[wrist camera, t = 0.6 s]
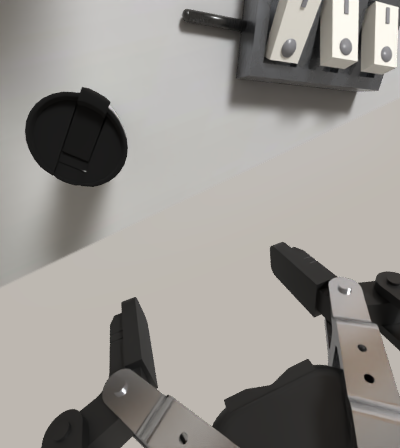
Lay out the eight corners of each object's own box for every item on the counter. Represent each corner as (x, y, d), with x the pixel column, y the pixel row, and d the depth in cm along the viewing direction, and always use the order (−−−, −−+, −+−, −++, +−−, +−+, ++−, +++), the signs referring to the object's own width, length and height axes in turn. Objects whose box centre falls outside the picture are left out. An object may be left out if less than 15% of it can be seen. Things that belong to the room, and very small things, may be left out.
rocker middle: (320, 1, 32) (333, -12, 30) (345, 8, 33) (359, -5, 31) (320, 65, 33) (333, 56, 31) (344, 69, 34) (358, 60, 32)
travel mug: (128, 112, 33) (145, 118, 16) (111, 156, 35) (109, 204, 18) (80, 85, 30) (38, 60, 13) (64, 135, 32) (8, 169, 15)
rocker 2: (361, 12, 34) (377, 0, 32) (383, 17, 36) (399, 6, 34) (360, 71, 35) (375, 63, 33) (382, 74, 36) (397, 67, 34)
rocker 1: (287, -29, 27) (297, -28, 26) (318, -20, 28) (329, -19, 27) (263, 55, 33) (270, 60, 31) (289, 60, 34) (298, 64, 33)
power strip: (182, -50, 28) (191, -71, 24) (382, 5, 38) (409, -5, 34) (179, 72, 33) (187, 68, 29) (357, 91, 43) (378, 90, 39)
